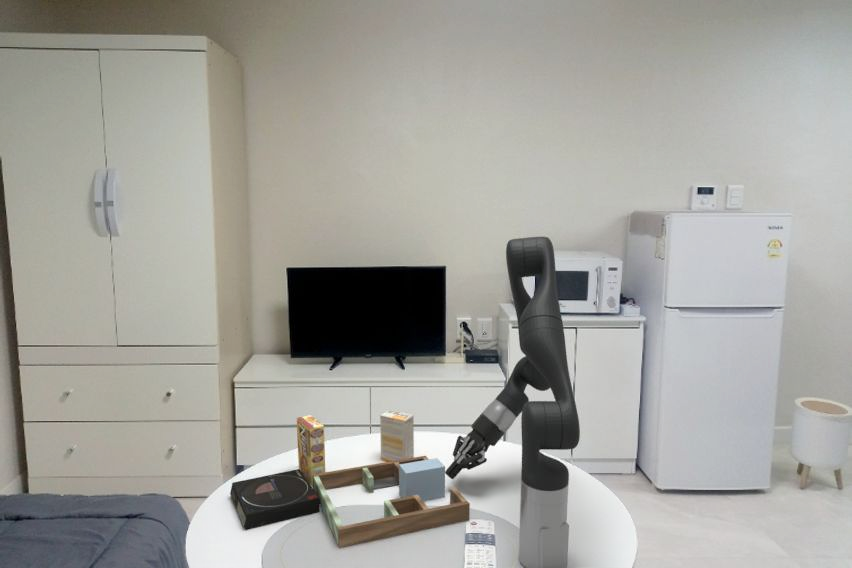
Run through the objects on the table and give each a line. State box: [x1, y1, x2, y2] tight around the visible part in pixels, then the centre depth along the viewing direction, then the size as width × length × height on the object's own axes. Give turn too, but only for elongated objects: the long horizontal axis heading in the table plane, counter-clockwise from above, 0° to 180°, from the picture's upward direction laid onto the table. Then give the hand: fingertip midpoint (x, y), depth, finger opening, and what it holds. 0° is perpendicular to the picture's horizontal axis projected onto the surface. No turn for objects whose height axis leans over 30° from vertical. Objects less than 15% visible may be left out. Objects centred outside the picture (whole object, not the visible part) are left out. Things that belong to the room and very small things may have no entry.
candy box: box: [296, 414, 326, 487], centre depth 159 cm, size 9×4×15 cm, turn 34°
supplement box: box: [379, 409, 415, 462], centre depth 170 cm, size 8×5×13 cm, turn 58°
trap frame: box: [312, 455, 471, 549], centre depth 147 cm, size 27×30×4 cm
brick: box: [398, 457, 446, 503], centre depth 151 cm, size 5×10×8 cm, turn 112°
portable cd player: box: [229, 468, 321, 531], centre depth 147 cm, size 16×17×4 cm
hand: (448, 476), depth 153 cm, fingers closed
